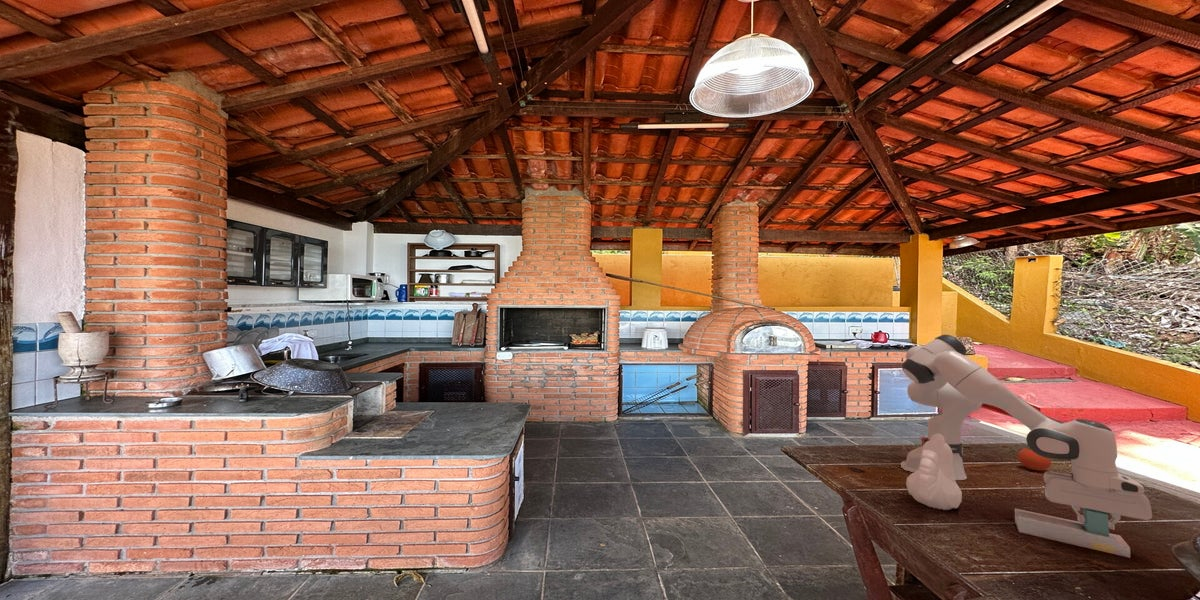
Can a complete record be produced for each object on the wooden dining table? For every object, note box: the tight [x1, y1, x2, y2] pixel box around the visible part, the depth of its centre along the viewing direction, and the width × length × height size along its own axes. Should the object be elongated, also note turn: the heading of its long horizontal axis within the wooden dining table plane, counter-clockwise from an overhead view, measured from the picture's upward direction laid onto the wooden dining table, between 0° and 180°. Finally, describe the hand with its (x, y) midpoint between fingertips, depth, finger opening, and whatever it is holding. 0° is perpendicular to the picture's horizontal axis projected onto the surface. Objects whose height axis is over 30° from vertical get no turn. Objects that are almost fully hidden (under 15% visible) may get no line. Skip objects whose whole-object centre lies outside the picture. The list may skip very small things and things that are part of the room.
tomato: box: [1017, 447, 1052, 472], centre depth 185 cm, size 10×10×10 cm
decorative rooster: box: [905, 434, 963, 511], centre depth 151 cm, size 25×16×25 cm, turn 119°
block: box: [1082, 508, 1110, 536], centre depth 123 cm, size 4×4×6 cm
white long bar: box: [1014, 508, 1131, 559], centre depth 127 cm, size 22×8×6 cm, turn 52°
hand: (1095, 525), depth 123 cm, fingers closed on block, 4 cm apart
